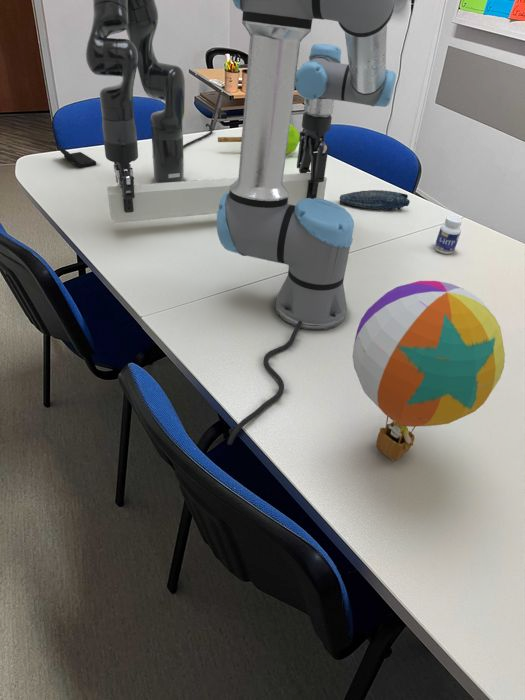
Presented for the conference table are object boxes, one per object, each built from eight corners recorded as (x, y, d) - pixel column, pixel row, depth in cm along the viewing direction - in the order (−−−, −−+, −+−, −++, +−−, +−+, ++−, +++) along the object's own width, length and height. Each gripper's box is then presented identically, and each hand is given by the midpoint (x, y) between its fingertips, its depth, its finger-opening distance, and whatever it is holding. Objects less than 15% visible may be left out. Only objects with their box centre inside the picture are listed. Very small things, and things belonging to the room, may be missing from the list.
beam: (315, 197, 152) (318, 171, 148) (323, 203, 149) (326, 178, 144) (110, 214, 133) (106, 186, 128) (113, 223, 129) (109, 194, 125)
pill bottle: (433, 251, 139) (442, 220, 133) (435, 243, 143) (444, 213, 137) (453, 256, 138) (464, 225, 132) (454, 247, 142) (465, 217, 136)
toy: (305, 441, 83) (335, 280, 64) (382, 391, 94) (427, 241, 75) (403, 527, 72) (474, 363, 53) (477, 460, 83) (558, 303, 64)
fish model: (408, 214, 157) (412, 198, 153) (339, 207, 158) (341, 191, 154) (406, 206, 162) (410, 190, 159) (339, 199, 163) (341, 183, 160)
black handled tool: (101, 157, 170) (79, 135, 162) (89, 175, 169) (67, 154, 161) (80, 153, 176) (58, 132, 168) (69, 170, 175) (46, 149, 167)
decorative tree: (215, 117, 188) (295, 117, 193) (215, 147, 195) (292, 146, 200) (221, 131, 174) (307, 131, 180) (221, 163, 181) (304, 161, 186)
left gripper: (99, 129, 124) (107, 197, 135) (108, 148, 114) (116, 220, 124) (130, 127, 126) (136, 195, 137) (142, 146, 116) (147, 217, 127)
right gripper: (290, 104, 140) (281, 189, 154) (320, 123, 127) (307, 213, 141) (315, 104, 142) (304, 187, 156) (347, 122, 129) (332, 211, 143)
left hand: (126, 207), depth 131 cm, fingers closed on beam, 5 cm apart
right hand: (306, 199), depth 149 cm, fingers closed on beam, 5 cm apart
